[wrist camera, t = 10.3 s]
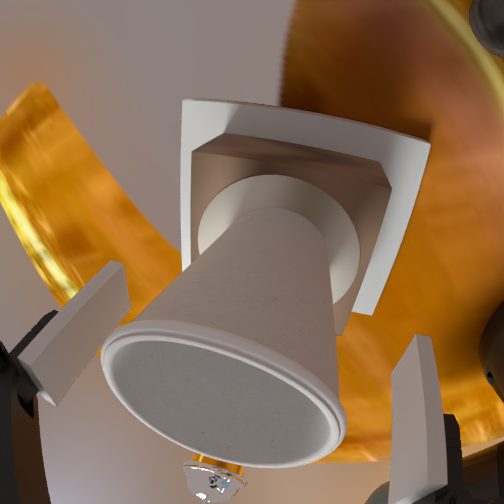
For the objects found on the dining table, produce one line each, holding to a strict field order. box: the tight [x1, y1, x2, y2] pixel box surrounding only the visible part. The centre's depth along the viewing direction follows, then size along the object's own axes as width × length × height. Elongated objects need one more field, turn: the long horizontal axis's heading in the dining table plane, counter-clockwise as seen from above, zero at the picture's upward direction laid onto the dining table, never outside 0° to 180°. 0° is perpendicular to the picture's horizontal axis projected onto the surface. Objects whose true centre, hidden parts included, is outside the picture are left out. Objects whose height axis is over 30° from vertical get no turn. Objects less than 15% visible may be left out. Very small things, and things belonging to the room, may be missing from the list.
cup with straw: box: [182, 453, 247, 504], centre depth 32 cm, size 8×9×20 cm
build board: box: [181, 98, 431, 315], centre depth 22 cm, size 16×14×2 cm
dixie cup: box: [101, 207, 347, 468], centre depth 13 cm, size 8×8×10 cm
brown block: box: [190, 133, 392, 336], centre depth 19 cm, size 10×10×5 cm
